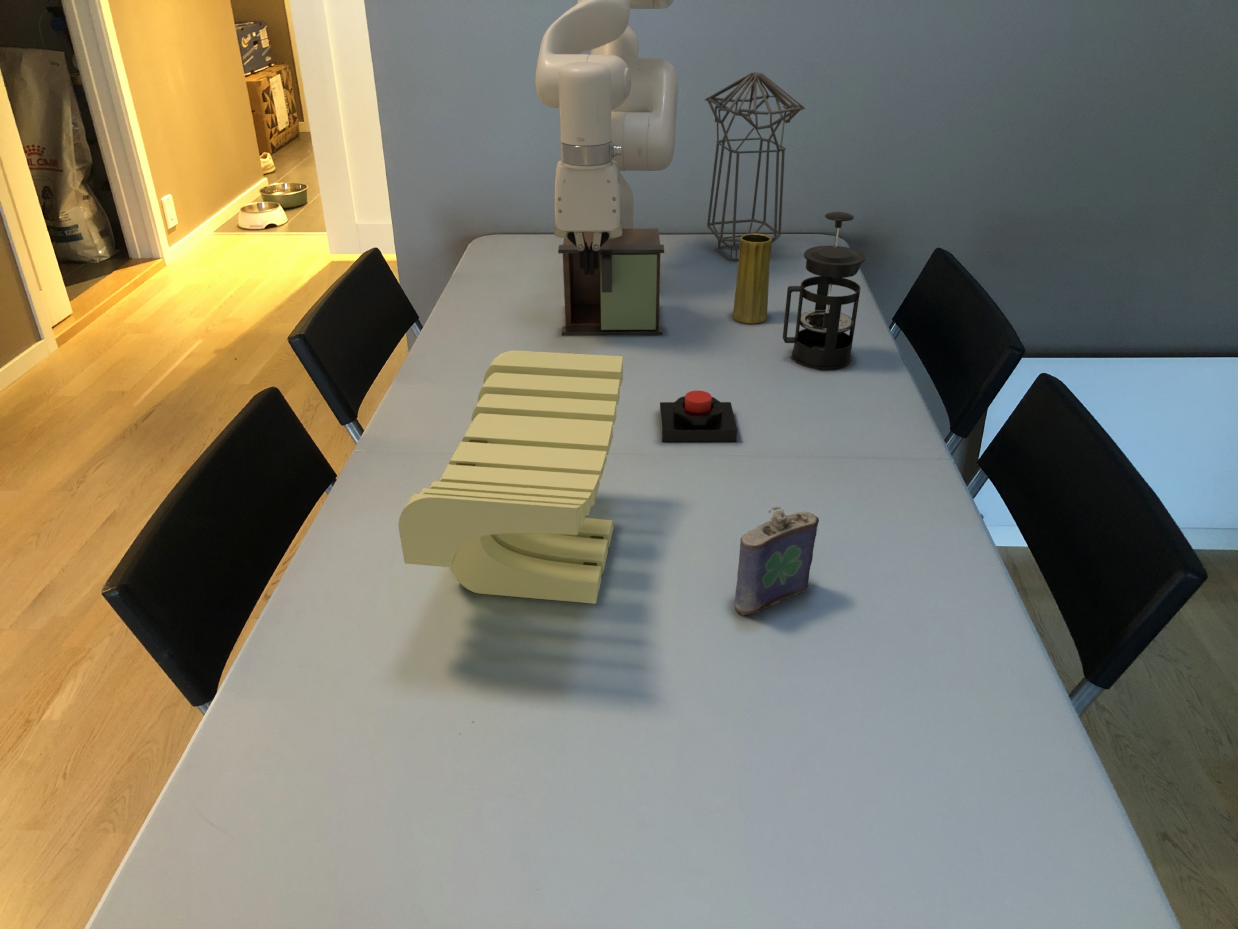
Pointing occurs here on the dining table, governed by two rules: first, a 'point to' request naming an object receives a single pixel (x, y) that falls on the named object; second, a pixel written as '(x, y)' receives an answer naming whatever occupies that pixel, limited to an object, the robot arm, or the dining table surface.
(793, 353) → the french press
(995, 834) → the dining table surface
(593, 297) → the cupboard
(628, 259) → the door
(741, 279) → the vase
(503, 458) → the slatted curved stool
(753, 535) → the flask
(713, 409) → the control block
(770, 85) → the geometric lantern
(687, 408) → the button
